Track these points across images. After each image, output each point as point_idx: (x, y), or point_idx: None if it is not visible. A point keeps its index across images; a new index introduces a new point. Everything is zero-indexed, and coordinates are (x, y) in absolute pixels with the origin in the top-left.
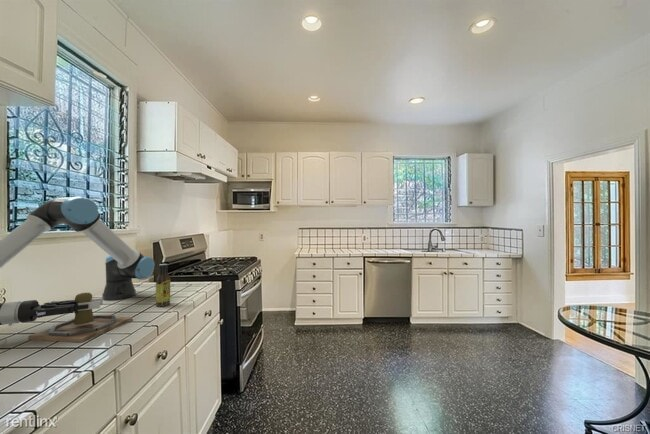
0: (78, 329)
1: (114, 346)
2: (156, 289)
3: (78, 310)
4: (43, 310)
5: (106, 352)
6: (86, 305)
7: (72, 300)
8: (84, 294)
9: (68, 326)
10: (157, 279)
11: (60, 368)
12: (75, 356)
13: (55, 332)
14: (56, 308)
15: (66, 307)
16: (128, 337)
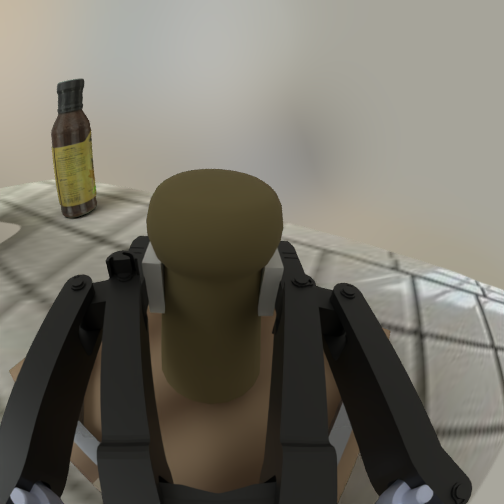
0: (266, 383)
1: (403, 268)
2: (71, 163)
3: (272, 313)
4: (450, 462)
5: (428, 275)
6: (290, 248)
7: (61, 332)
8: (257, 179)
9: (171, 447)
10: (73, 127)
11: (488, 317)
12: (454, 316)
13: (338, 450)
14: (408, 376)
15: (374, 317)
16: (353, 254)
